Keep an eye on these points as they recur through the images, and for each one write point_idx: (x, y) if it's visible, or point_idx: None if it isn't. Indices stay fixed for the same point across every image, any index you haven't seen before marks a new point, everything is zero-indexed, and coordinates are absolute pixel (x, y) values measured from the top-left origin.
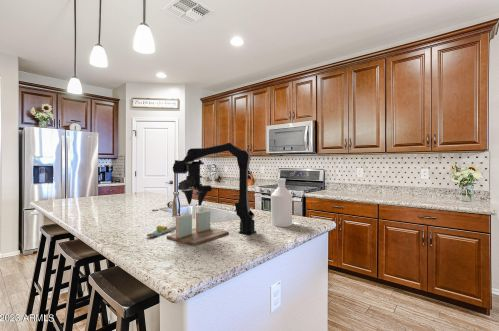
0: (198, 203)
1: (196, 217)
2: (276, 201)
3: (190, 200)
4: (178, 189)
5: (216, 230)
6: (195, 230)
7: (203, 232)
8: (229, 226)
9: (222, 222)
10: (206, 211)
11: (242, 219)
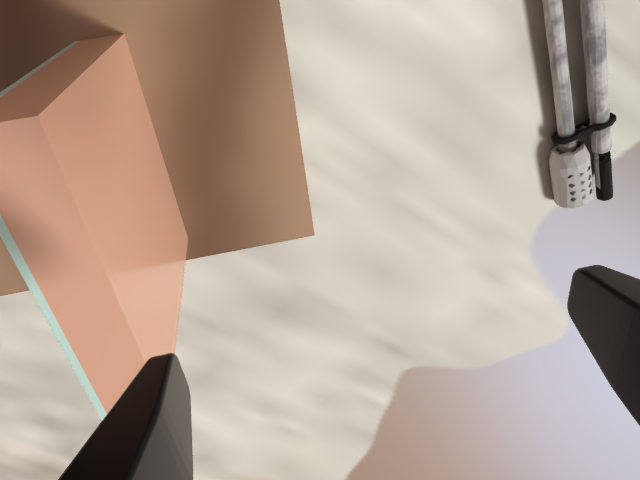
0: (159, 389)
1: (56, 87)
2: None
3: (634, 381)
4: None
5: (6, 248)
6: (181, 59)
7: (1, 77)
8: None
9: (353, 444)
10: (66, 354)
11: None
